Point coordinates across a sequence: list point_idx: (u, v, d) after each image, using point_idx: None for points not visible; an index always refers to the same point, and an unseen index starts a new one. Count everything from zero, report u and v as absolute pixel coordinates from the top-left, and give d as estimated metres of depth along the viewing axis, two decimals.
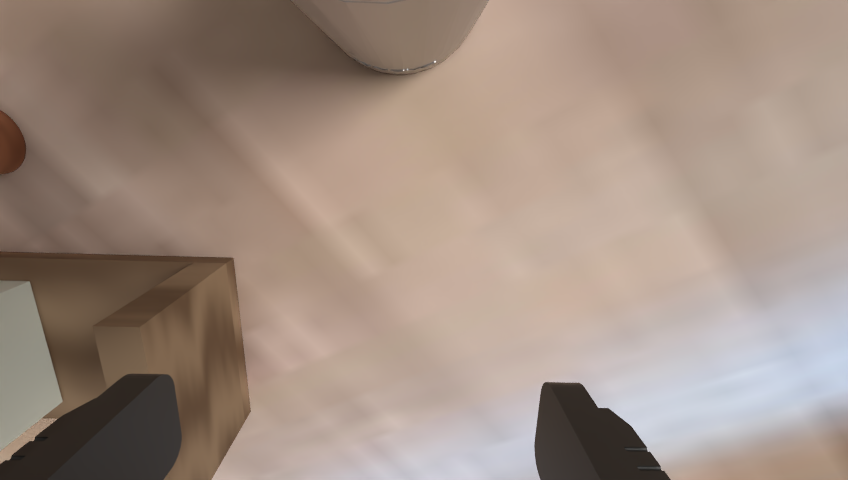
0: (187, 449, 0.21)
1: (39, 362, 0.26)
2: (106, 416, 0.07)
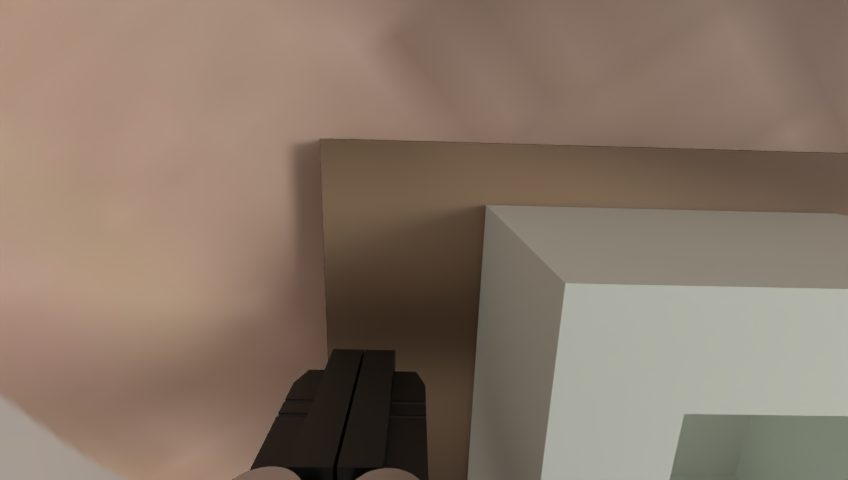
0: None
1: None
2: (346, 381, 0.08)
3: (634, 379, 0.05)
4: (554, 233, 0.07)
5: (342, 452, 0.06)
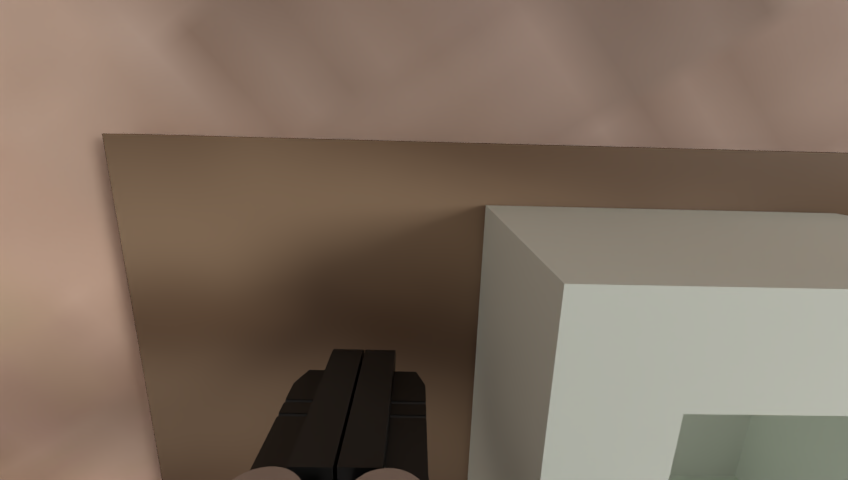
0: None
1: None
2: (346, 381, 0.08)
3: (633, 379, 0.05)
4: (553, 233, 0.07)
5: (342, 452, 0.06)
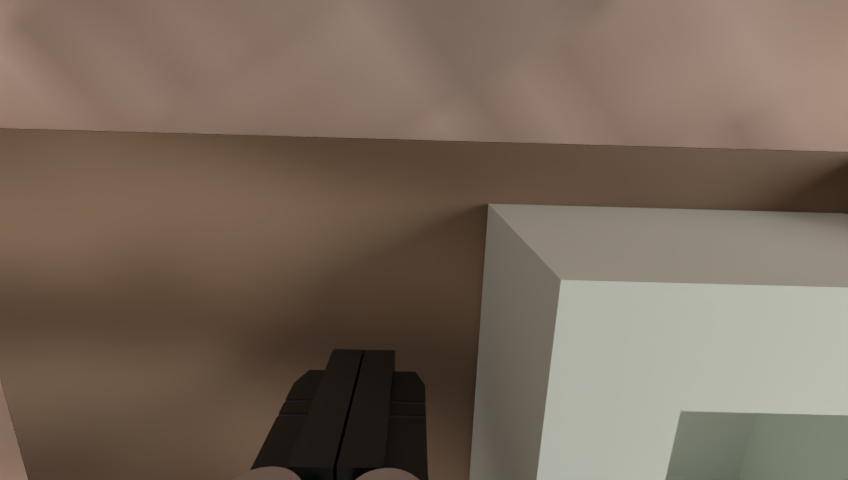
0: None
1: None
2: (346, 381, 0.08)
3: (630, 376, 0.05)
4: (554, 231, 0.07)
5: (342, 452, 0.06)
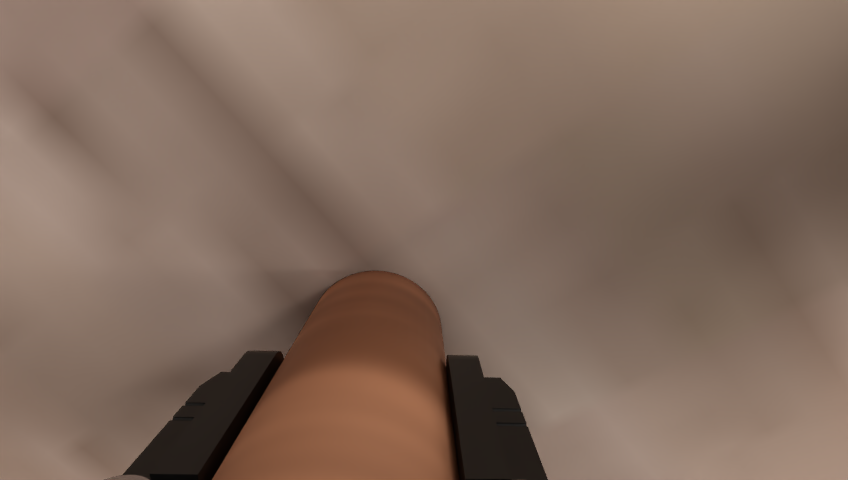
0: None
1: None
2: (248, 384, 0.08)
3: None
4: None
5: (464, 463, 0.06)
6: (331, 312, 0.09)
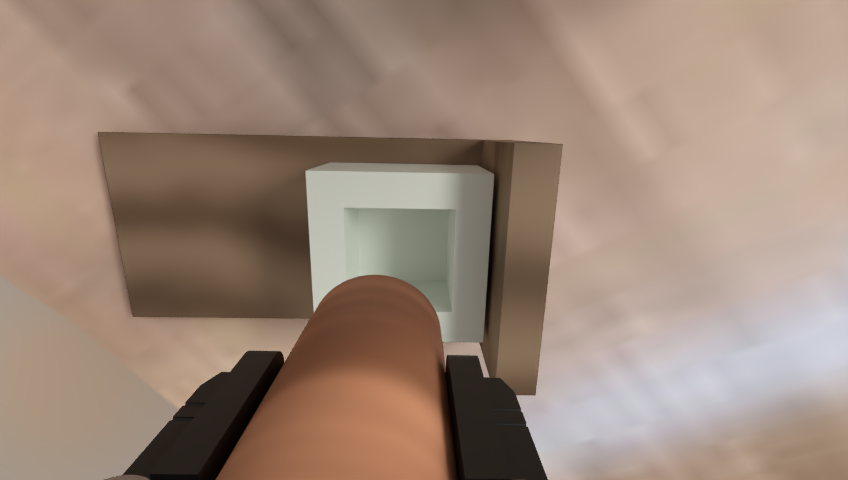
0: None
1: None
2: (248, 384, 0.08)
3: (328, 197, 0.19)
4: (331, 166, 0.21)
5: (464, 462, 0.06)
6: (330, 317, 0.09)
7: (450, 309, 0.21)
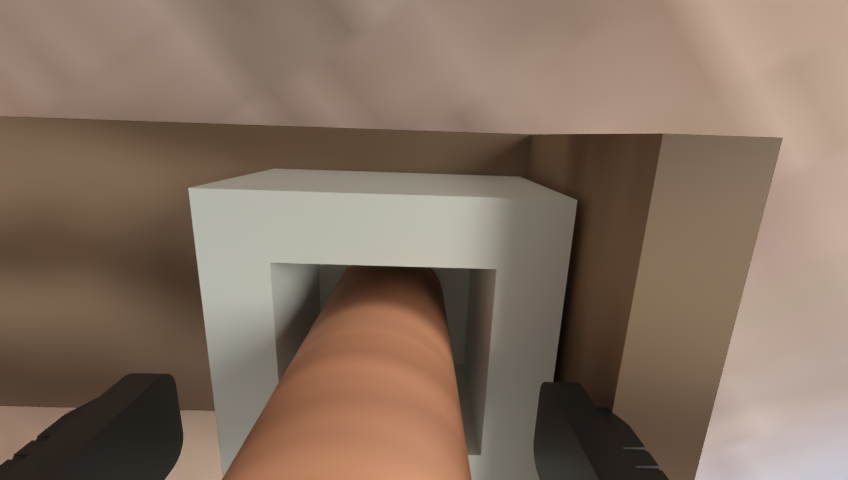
0: None
1: None
2: (108, 415, 0.07)
3: (237, 242, 0.09)
4: (262, 177, 0.11)
5: None
6: (357, 276, 0.12)
7: (477, 446, 0.11)
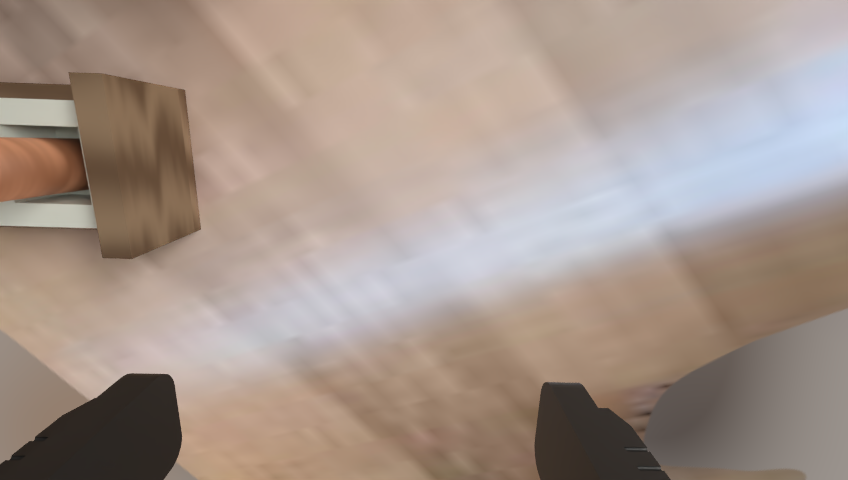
0: (139, 200, 0.28)
1: None
2: (106, 416, 0.07)
3: None
4: None
5: None
6: None
7: None
